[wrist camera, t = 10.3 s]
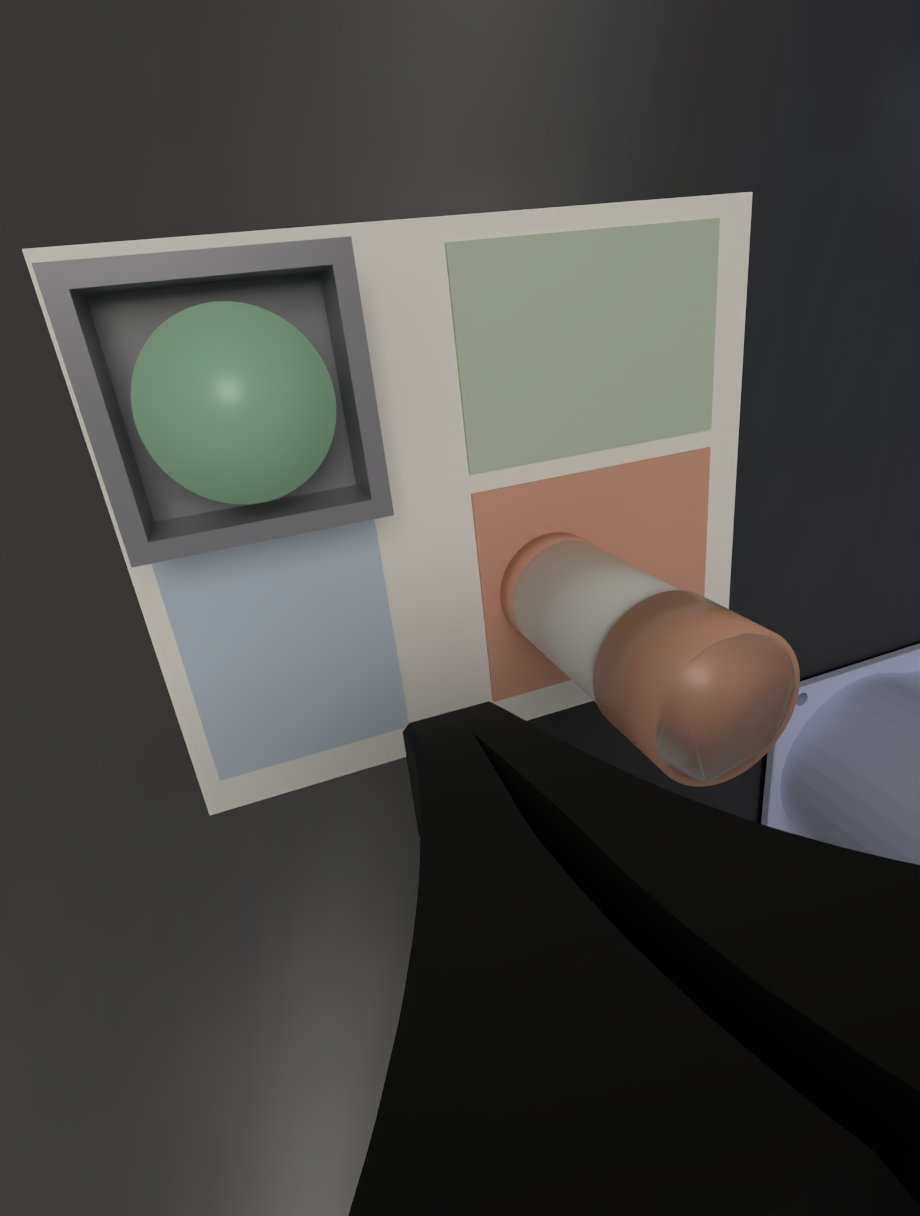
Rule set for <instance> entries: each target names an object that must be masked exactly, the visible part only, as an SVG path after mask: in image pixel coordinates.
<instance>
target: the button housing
mask: <svg viewBox="0 0 920 1216" xmlns="http://www.w3.org/2000/svg"><path fill="white" fill-rule="evenodd" d="M32 266H33V269H34V272H35V275H36V278H37V281H38V284H39V288H40V291H41V294H42V297H43V300H44V303H45V306H46V309H47V312H48V315H49V318H50V321H51V324H52V327H53V330H54V333H55V336H56V339H57V342H58V345H59V348H60V351H61V354H62V357H63V360H64V364H65V367H66V370H67V373H68V376H69V379H70V382H71V385H72V388H73V391H74V394H75V397H76V400H77V403H78V406H79V409H80V412H81V415H82V418H83V421H84V424H85V427H86V430H87V433H88V436H89V440H90V443H91V446H92V449H93V452H94V455H95V458H96V461H97V464H98V467H99V470H100V473H101V476H102V479H103V482H104V485H105V488H106V491H107V494H108V497H109V500H110V503H111V506H112V509H113V512H114V516H115V519H116V522H117V525H118V528H119V531H120V534H121V537H122V540H123V543H124V546H125V549H126V552H127V555H128V558H129V561H130V564H131V567H137V566H142V565H147V564H152V563H157V562H162V561H167V560H172V559H177V558H182V557H187V556H192V555H197V554H202V553H207V552H212V551H217V550H222V549H227V548H232V547H237V546H242V545H247V544H252V543H258V542H263V541H268V540H273V539H278V538H283V537H288V536H293V535H298V534H303V533H308V532H313V531H318V530H323V529H328V528H333V527H338V526H343V525H348V524H353V523H358V522H363V521H368V520H373V519H378V518H383V517H388V516H393V515H394V511H393V505H392V498H391V492H390V485H389V479H388V472H387V466H386V459H385V453H384V446H383V440H382V433H381V427H380V420H379V414H378V407H377V401H376V394H375V388H374V382H373V375H372V369H371V362H370V356H369V349H368V343H367V336H366V330H365V323H364V317H363V310H362V304H361V297H360V291H359V284H358V278H357V271H356V265H355V259H354V252H353V246H352V239H351V236H350V237H338V238H326V239H314V240H302V241H290V242H278V243H266V244H254V245H242V246H230V247H218V248H206V249H194V250H182V251H171V252H159V253H147V254H135V255H123V256H111V257H99V258H87V259H75V260H63V261H51V262H39V263H32ZM216 301H232V302H242V303H246V304H250V305H254V306H258V307H260V308H263V309H265V310H268V311H270V312H272V313H274V314H276V315H278V316H280V317H282V318H283V319H285V320H286V321H287V322H289V323H290V324H292V325H293V326H294V327H295V328H297V329H298V330H299V331H300V332H301V333H302V334H303V335H304V336H305V337H306V338H307V339H308V340H309V341H310V343H311V344H312V345H313V346H314V348H315V349H316V351H317V352H318V353H319V355H320V356H321V358H322V360H323V362H324V364H325V366H326V368H327V370H328V373H329V375H330V378H331V381H332V384H333V388H334V392H335V399H336V425H335V432H334V435H333V439H332V443H331V445H330V448H329V450H328V452H327V455H326V456H325V458H324V460H323V461H322V463H321V465H320V466H319V467H318V469H317V470H316V471H315V472H314V474H313V475H312V476H311V477H310V478H309V479H308V480H307V481H306V482H305V483H303V484H302V485H301V486H299V487H298V488H297V489H295V490H293V491H292V492H290V493H288V494H286V495H284V496H282V497H279V498H277V499H274V500H271V501H267V502H263V503H256V504H229V503H222V502H218V501H214V500H210V499H208V498H205V497H203V496H200V495H197V494H196V493H194V492H192V491H190V490H188V489H186V488H185V487H183V486H182V485H180V484H179V483H177V482H176V481H174V480H173V479H172V478H171V477H170V476H169V475H168V474H166V473H165V472H164V471H163V470H162V469H161V467H160V466H159V465H158V464H157V463H156V462H155V461H154V459H153V458H152V456H151V455H150V454H149V452H148V451H147V449H146V447H145V445H144V444H143V442H142V440H141V438H140V436H139V433H138V430H137V427H136V425H135V421H134V417H133V413H132V406H131V381H132V375H133V370H134V367H135V364H136V361H137V358H138V355H139V353H140V351H141V350H142V348H143V346H144V344H145V342H146V341H147V340H148V338H149V337H150V336H151V334H152V333H153V332H154V331H155V330H156V329H157V328H158V327H159V326H160V325H161V324H162V323H163V322H165V321H166V320H167V319H169V318H170V317H172V316H173V315H174V314H176V313H178V312H180V311H182V310H184V309H186V308H189V307H192V306H195V305H198V304H203V303H208V302H216Z"/></svg>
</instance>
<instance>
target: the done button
mask: <svg viewBox="0 0 920 1216" xmlns="http://www.w3.org/2000/svg"><path fill="white" fill-rule="evenodd" d="M131 406H132V413H133V417H134V421H135V425H136V427H137V430H138V433H139V436H140V438H141V440H142V442H143V444H144V445H145V447H146V449H147V451H148V452H149V454H150V455H151V456H152V458H153V459H154V461H155V462H156V463H157V464H158V465H159V466H160V467H161V469H162V470H163V471H164V472H165V473H166V474H168V475H169V476H170V477H171V478H172V479H173V480H174V481H176V482H177V483H179V484H180V485H182V486H183V487H185V488H186V489H188V490H190V491H192V492H194V493H196V494H197V495H200V496H203V497H205V498H208V499H210V500H214V501H218V502H222V503H229V504H256V503H263V502H267V501H271V500H274V499H277V498H279V497H282V496H284V495H286V494H288V493H290V492H292V491H293V490H295V489H297V488H298V487H299V486H301V485H302V484H303V483H305V482H306V481H307V480H308V479H309V478H310V477H311V476H312V475H313V474H314V472H315V471H316V470H317V469H318V467H319V466H320V465H321V463H322V461H323V460H324V458H325V456H326V455H327V452H328V450H329V448H330V445H331V443H332V439H333V435H334V432H335V425H336V399H335V392H334V388H333V384H332V381H331V378H330V375H329V373H328V370H327V368H326V366H325V364H324V362H323V360H322V358H321V356H320V355H319V353H318V352H317V351H316V349H315V348H314V346H313V345H312V344H311V343H310V341H309V340H308V339H307V338H306V337H305V336H304V335H303V334H302V333H301V332H300V331H299V330H298V329H297V328H295V327H294V326H293V325H292V324H290V323H289V322H287V321H286V320H285V319H283V318H282V317H280V316H278V315H276V314H274V313H272V312H270V311H268V310H265V309H263V308H260V307H258V306H254V305H250V304H246V303H242V302H232V301H216V302H208V303H203V304H198V305H195V306H192V307H189V308H186V309H184V310H182V311H180V312H178V313H176V314H174V315H173V316H172V317H170V318H169V319H167V320H166V321H165V322H163V323H162V324H161V325H160V326H159V327H158V328H157V329H156V330H155V331H154V332H153V333H152V334H151V336H150V337H149V338H148V340H147V341H146V342H145V344H144V346H143V348H142V350H141V351H140V353H139V355H138V358H137V361H136V364H135V367H134V370H133V375H132V381H131Z"/></svg>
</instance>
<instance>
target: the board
mask: <svg viewBox="0 0 920 1216" xmlns="http://www.w3.org/2000/svg"><path fill="white" fill-rule="evenodd" d="M751 209H752V192H744V193H731V194H719V195H706V196H693V197H680V198H668V199H655V200H642V201H629V202H616V203H604V204H591V205H578V206H565V207H553V208H540V209H527V210H514V211H501V212H489V213H476V214H463V215H450V216H438V217H425V218H412V219H399V220H387V221H374V222H361V223H348V224H335V225H323V226H310V227H297V228H284V229H272V230H259V231H246V232H233V233H220V234H208V235H195V236H182V237H169V238H157V239H144V240H131V241H118V242H105V243H93V244H80V245H67V246H54V247H42V248H29V249H22V251H23V254H24V257H25V260H26V263H27V266H28V269H29V272H30V275H31V278H32V281H33V284H34V287H35V290H36V293H37V296H38V299H39V302H40V305H41V308H42V311H43V314H44V317H45V320H46V323H47V326H48V329H49V332H50V335H51V338H52V341H53V344H54V347H55V350H56V354H57V357H58V360H59V363H60V366H61V369H62V372H63V375H64V378H65V381H66V384H67V387H68V390H69V393H70V396H71V399H72V402H73V405H74V408H75V411H76V414H77V417H78V420H79V423H80V426H81V429H82V432H83V435H84V438H85V441H86V444H87V447H88V450H89V453H90V456H91V459H92V462H93V465H94V468H95V471H96V474H97V477H98V480H99V483H100V486H101V489H102V492H103V495H104V498H105V501H106V504H107V507H108V510H109V513H110V516H111V519H112V522H113V525H114V528H115V531H116V534H117V537H118V540H119V544H120V547H121V550H122V553H123V556H124V559H125V562H126V565H127V568H128V571H129V574H130V577H131V580H132V583H133V586H134V589H135V592H136V595H137V598H138V601H139V604H140V607H141V610H142V613H143V616H144V619H145V622H146V625H147V628H148V631H149V634H150V637H151V640H152V643H153V646H154V649H155V652H156V655H157V658H158V661H159V664H160V667H161V670H162V673H163V676H164V679H165V682H166V685H167V688H168V691H169V694H170V697H171V700H172V703H173V706H174V709H175V712H176V715H177V718H178V721H179V724H180V727H181V730H182V734H183V737H184V740H185V743H186V746H187V749H188V752H189V755H190V758H191V761H192V764H193V767H194V770H195V773H196V776H197V779H198V782H199V785H200V788H201V791H202V794H203V797H204V800H205V803H206V806H207V809H208V812H209V815H213V814H217V813H220V812H223V811H227V810H230V809H233V808H237V807H240V806H243V805H247V804H250V803H253V802H257V801H260V800H263V799H267V798H270V797H273V796H277V795H280V794H283V793H287V792H290V791H293V790H297V789H300V788H303V787H307V786H310V785H313V784H317V783H320V782H323V781H327V780H330V779H334V778H337V777H340V776H344V775H347V774H350V773H354V772H357V771H360V770H364V769H367V768H370V767H374V766H377V765H380V764H384V763H387V762H390V761H394V760H397V759H400V758H404V757H406V751H405V745H404V738H403V731H404V729H405V728H406V727H407V725H408V724H409V723H411V722H415V721H418V720H422V719H426V718H429V717H433V716H437V715H440V714H444V713H448V712H451V711H455V710H459V709H462V708H466V707H470V706H473V705H477V704H481V703H484V702H488V701H490V702H492V703H494V704H496V705H498V706H500V707H502V708H503V709H505V710H507V711H509V712H511V713H513V714H514V715H516V716H518V717H520V718H522V719H524V720H525V721H527V720H531V719H534V718H537V717H541V716H544V715H547V714H551V713H554V712H557V711H561V710H564V709H567V708H571V707H574V706H577V705H581V704H584V703H587V702H591V701H594V700H593V699H592V698H591V697H590V696H589V695H587V694H586V693H585V692H584V691H583V690H582V689H581V688H580V687H579V686H578V685H577V684H576V683H574V682H573V681H572V680H571V679H570V678H569V677H568V676H567V675H566V674H565V673H564V672H563V671H561V670H560V669H559V668H558V667H557V666H556V665H555V664H554V663H553V662H552V661H551V660H550V659H548V658H547V657H546V656H545V655H544V654H543V653H542V652H541V651H540V650H539V649H538V648H537V647H535V646H534V645H533V644H532V643H531V642H529V641H528V640H527V639H526V638H525V637H523V636H522V635H521V634H520V633H519V632H518V631H517V630H516V629H515V628H514V627H513V626H512V625H511V624H510V623H509V621H508V620H507V618H506V617H505V615H504V612H503V609H502V606H501V600H500V589H501V582H502V578H503V575H504V572H505V570H506V568H507V566H508V564H509V562H510V561H511V559H512V558H513V556H514V555H515V554H516V553H517V552H518V551H519V550H520V549H521V548H522V547H523V546H524V545H525V544H527V543H528V542H529V541H531V540H533V539H535V538H536V537H539V536H541V535H544V534H548V533H553V532H565V533H570V534H574V535H576V536H578V537H580V538H582V539H584V540H586V541H588V542H590V543H592V544H594V545H596V546H597V547H599V548H600V549H602V550H604V551H606V552H608V553H610V554H612V555H613V556H615V557H617V558H619V559H621V560H623V561H625V562H627V563H629V564H631V565H633V566H635V567H637V568H639V569H640V570H642V571H644V572H646V573H648V574H650V575H652V576H654V577H656V578H658V579H660V580H662V581H664V582H665V583H667V584H669V585H671V586H673V587H675V588H677V589H679V590H684V591H690V592H694V593H697V594H699V595H701V596H703V597H705V598H707V599H709V600H711V601H713V602H715V603H717V604H719V605H721V606H723V607H725V608H727V609H729V592H730V575H731V557H732V540H733V523H734V505H735V488H736V470H737V453H738V435H739V418H740V401H741V383H742V366H743V348H744V331H745V314H746V296H747V279H748V261H749V244H750V226H751ZM350 236H351V239H352V246H353V252H354V259H355V265H356V271H357V278H358V284H359V291H360V297H361V304H362V310H363V317H364V323H365V330H366V336H367V343H368V349H369V356H370V362H371V369H372V375H373V382H374V388H375V394H376V401H377V407H378V414H379V420H380V427H381V433H382V440H383V446H384V453H385V459H386V466H387V472H388V479H389V485H390V492H391V498H392V505H393V511H394V515H393V516H388V517H383V518H378V519H373V520H368V521H363V522H358V523H353V524H348V525H343V526H338V527H333V528H328V529H323V530H318V531H313V532H308V533H303V534H298V535H293V536H288V537H283V538H278V539H273V540H268V541H263V542H258V543H252V544H247V545H242V546H237V547H232V548H227V549H222V550H217V551H212V552H207V553H202V554H197V555H192V556H187V557H182V558H177V559H172V560H167V561H162V562H157V563H152V564H147V565H142V566H137V567H131V564H130V561H129V558H128V555H127V552H126V549H125V546H124V543H123V540H122V537H121V534H120V531H119V528H118V525H117V522H116V519H115V516H114V512H113V509H112V506H111V503H110V500H109V497H108V494H107V491H106V488H105V485H104V482H103V479H102V476H101V473H100V470H99V467H98V464H97V461H96V458H95V455H94V452H93V449H92V446H91V443H90V440H89V436H88V433H87V430H86V427H85V424H84V421H83V418H82V415H81V412H80V409H79V406H78V403H77V400H76V397H75V394H74V391H73V388H72V385H71V382H70V379H69V376H68V373H67V370H66V367H65V364H64V360H63V357H62V354H61V351H60V348H59V345H58V342H57V339H56V336H55V333H54V330H53V327H52V324H51V321H50V318H49V315H48V312H47V309H46V306H45V303H44V300H43V297H42V294H41V291H40V288H39V284H38V281H37V278H36V275H35V272H34V269H33V266H32V263H39V262H51V261H63V260H75V259H87V258H99V257H111V256H123V255H135V254H147V253H159V252H171V251H182V250H194V249H206V248H218V247H230V246H242V245H254V244H266V243H278V242H290V241H302V240H314V239H326V238H338V237H350Z"/></svg>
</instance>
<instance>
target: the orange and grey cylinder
mask: <svg viewBox="0 0 920 1216" xmlns="http://www.w3.org/2000/svg"><path fill="white" fill-rule="evenodd" d="M500 600H501V606H502V609H503V612H504V615H505V617H506V618H507V620H508V621H509V623H510V624H511V625H512V626H513V627H514V628H515V629H516V630H517V631H518V632H519V633H520V634H521V635H522V636H523V637H525V638H526V639H527V640H528V641H529V642H531V643H532V644H533V645H534V646H535V647H537V648H538V649H539V650H540V651H541V652H542V653H543V654H544V655H545V656H546V657H547V658H548V659H550V660H551V661H552V662H553V663H554V664H555V665H556V666H557V667H558V668H559V669H560V670H561V671H563V672H564V673H565V674H566V675H567V676H568V677H569V678H570V679H571V680H572V681H573V682H574V683H576V684H577V685H578V686H579V687H580V688H581V689H582V690H583V691H584V692H585V693H586V694H587V695H589V696H590V697H591V698H592V699H593V700H594V701H595V702H596V703H597V705H598V707H599V709H600V711H601V712H602V714H603V715H604V716H605V717H606V718H607V719H608V721H610V722H611V723H612V724H613V725H614V726H615V727H616V728H617V729H618V730H619V731H620V732H621V733H622V734H623V735H624V736H626V737H627V738H628V739H629V740H630V741H631V742H632V743H633V744H634V745H635V746H636V747H637V748H638V749H639V750H640V751H641V752H643V753H644V754H645V755H646V756H647V757H648V758H649V759H650V760H651V761H652V762H653V763H654V764H655V765H656V766H657V767H659V768H660V769H661V770H662V771H663V772H664V773H665V774H666V775H667V776H669V777H670V778H671V779H672V780H674V781H676V782H678V783H681V784H684V785H688V786H696V787H699V786H710V785H715V784H719V783H722V782H725V781H727V780H730V779H732V778H734V777H736V776H738V775H740V774H741V773H743V772H744V771H746V770H747V769H749V768H750V767H752V766H753V765H754V764H755V763H757V762H758V761H759V760H760V759H761V758H762V757H763V756H764V755H765V754H766V753H767V752H768V751H769V750H770V749H771V748H772V747H773V745H774V744H775V743H776V741H777V740H778V739H779V737H780V736H781V734H782V733H783V731H784V730H785V728H786V726H787V724H788V722H789V720H790V718H791V716H792V713H793V711H794V708H795V705H796V702H797V698H798V693H799V685H800V673H799V666H798V661H797V658H796V656H795V653H794V651H793V650H792V648H791V646H790V645H789V644H788V643H787V642H786V640H785V639H783V638H782V637H781V636H779V635H778V634H776V633H774V632H772V631H770V630H768V629H766V628H764V627H762V626H760V625H759V624H757V623H755V622H753V621H751V620H749V619H747V618H745V617H743V616H741V615H739V614H737V613H735V612H733V611H731V610H729V609H727V608H725V607H723V606H721V605H719V604H717V603H715V602H713V601H711V600H709V599H707V598H705V597H703V596H701V595H699V594H697V593H694V592H690V591H684V590H679V589H677V588H675V587H673V586H671V585H669V584H667V583H665V582H664V581H662V580H660V579H658V578H656V577H654V576H652V575H650V574H648V573H646V572H644V571H642V570H640V569H639V568H637V567H635V566H633V565H631V564H629V563H627V562H625V561H623V560H621V559H619V558H617V557H615V556H613V555H612V554H610V553H608V552H606V551H604V550H602V549H600V548H599V547H597V546H596V545H594V544H592V543H590V542H588V541H586V540H584V539H582V538H580V537H578V536H576V535H574V534H570V533H565V532H553V533H548V534H544V535H541V536H539V537H536V538H535V539H533V540H531V541H529V542H528V543H527V544H525V545H524V546H523V547H522V548H521V549H520V550H519V551H518V552H517V553H516V554H515V555H514V556H513V558H512V559H511V561H510V562H509V564H508V566H507V568H506V570H505V572H504V575H503V578H502V582H501V589H500Z"/></svg>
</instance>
